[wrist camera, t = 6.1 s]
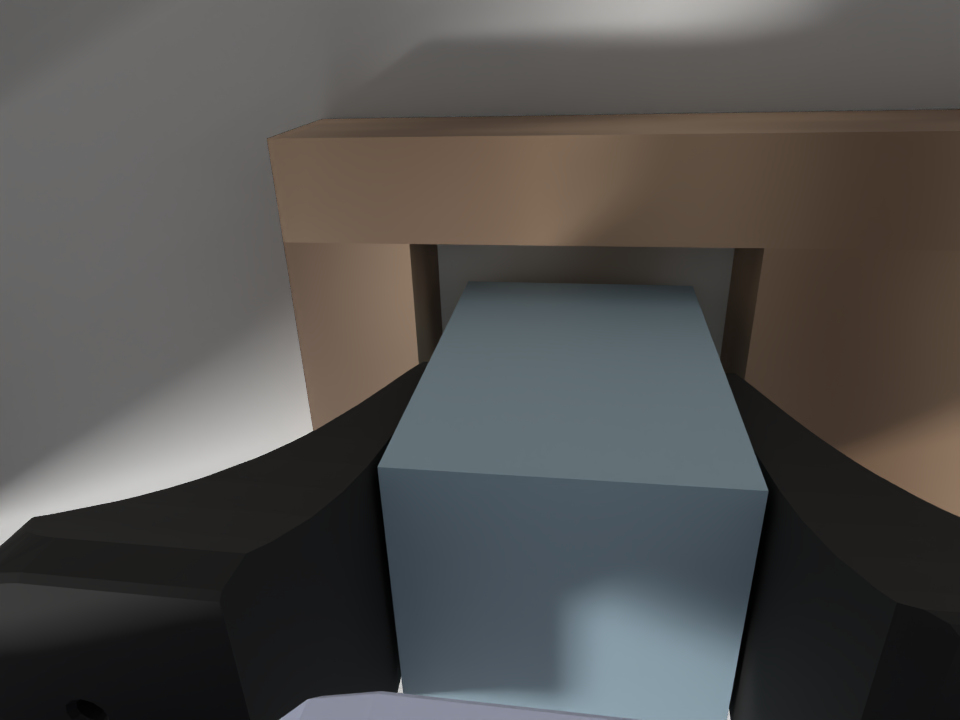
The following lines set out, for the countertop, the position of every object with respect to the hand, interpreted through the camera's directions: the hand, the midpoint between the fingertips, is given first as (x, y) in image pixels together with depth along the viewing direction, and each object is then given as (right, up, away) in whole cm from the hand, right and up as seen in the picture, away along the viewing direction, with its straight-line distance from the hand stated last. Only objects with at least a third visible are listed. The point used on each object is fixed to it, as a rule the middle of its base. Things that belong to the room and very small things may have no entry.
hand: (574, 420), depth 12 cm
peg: (0, +1, +2) cm, 2 cm away
